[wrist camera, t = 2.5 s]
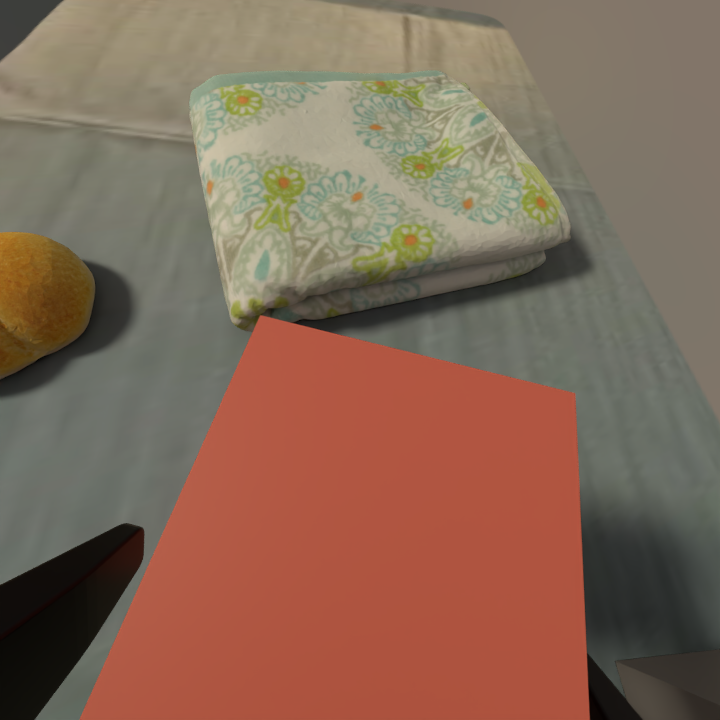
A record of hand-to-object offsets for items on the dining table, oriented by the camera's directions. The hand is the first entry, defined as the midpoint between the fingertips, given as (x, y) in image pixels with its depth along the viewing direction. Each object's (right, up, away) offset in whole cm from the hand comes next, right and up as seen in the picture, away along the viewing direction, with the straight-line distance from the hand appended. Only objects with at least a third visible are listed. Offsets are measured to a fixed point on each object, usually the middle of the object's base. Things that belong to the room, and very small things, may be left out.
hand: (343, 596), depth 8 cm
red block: (0, -3, +9) cm, 9 cm away
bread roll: (-19, +7, +12) cm, 24 cm away
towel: (+1, +16, +19) cm, 25 cm away
